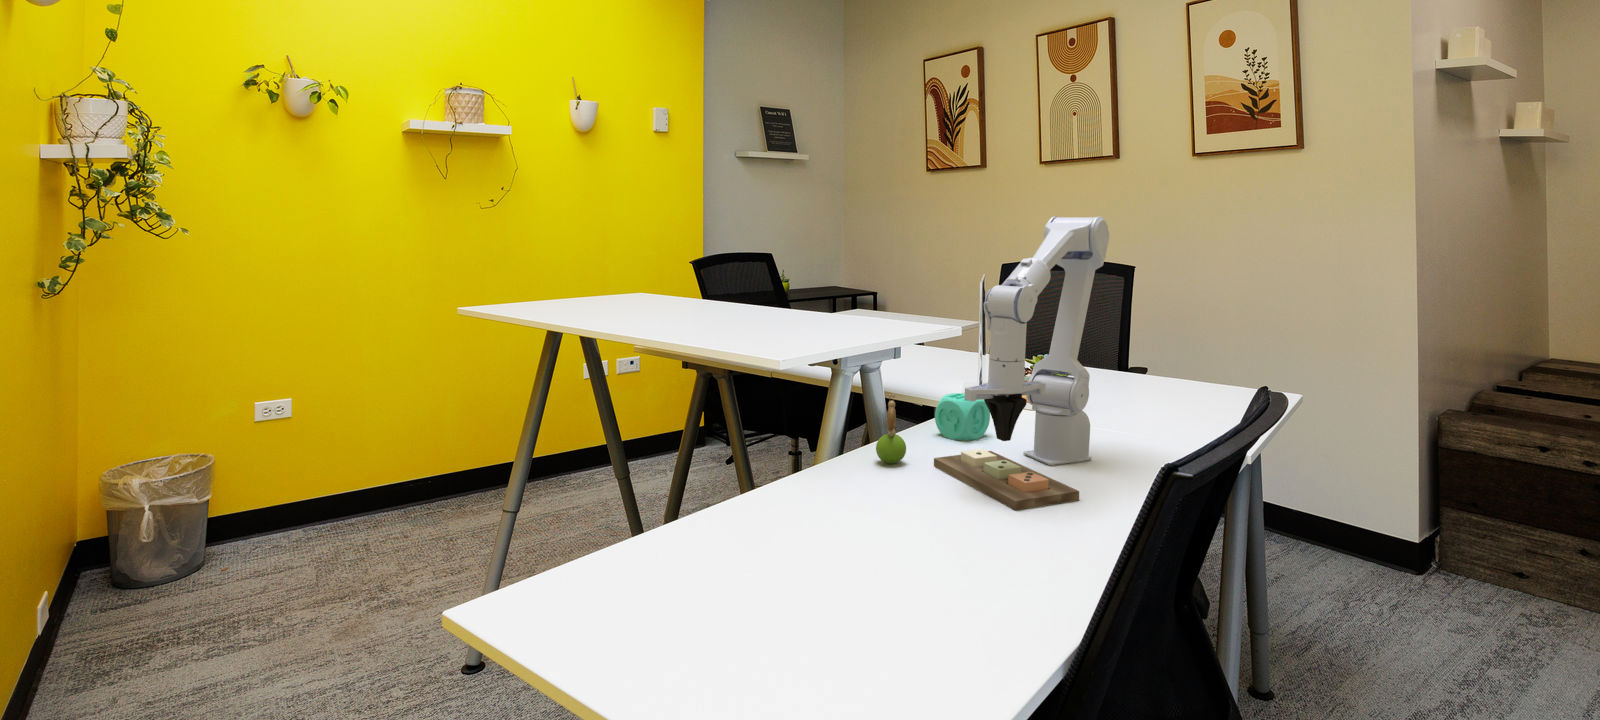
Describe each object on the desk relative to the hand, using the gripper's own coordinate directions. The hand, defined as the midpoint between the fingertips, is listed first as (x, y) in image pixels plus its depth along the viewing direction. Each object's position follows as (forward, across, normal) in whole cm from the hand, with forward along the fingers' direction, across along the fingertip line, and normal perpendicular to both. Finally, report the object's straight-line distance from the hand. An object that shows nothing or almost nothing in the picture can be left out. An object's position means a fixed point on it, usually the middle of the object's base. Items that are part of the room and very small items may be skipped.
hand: (1003, 439), depth 137 cm
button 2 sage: (+7, 0, 0) cm, 7 cm away
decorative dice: (+8, -10, -28) cm, 31 cm away
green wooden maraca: (+8, +12, -17) cm, 22 cm away
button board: (+7, 0, 0) cm, 7 cm away
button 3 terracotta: (+7, 0, +7) cm, 10 cm away
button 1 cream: (+6, 0, -7) cm, 9 cm away
